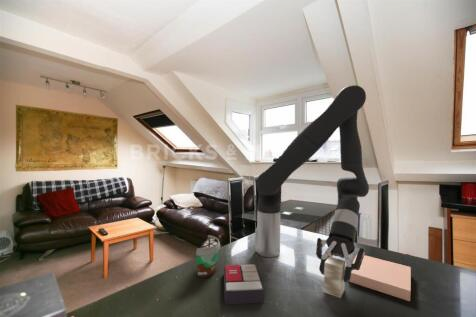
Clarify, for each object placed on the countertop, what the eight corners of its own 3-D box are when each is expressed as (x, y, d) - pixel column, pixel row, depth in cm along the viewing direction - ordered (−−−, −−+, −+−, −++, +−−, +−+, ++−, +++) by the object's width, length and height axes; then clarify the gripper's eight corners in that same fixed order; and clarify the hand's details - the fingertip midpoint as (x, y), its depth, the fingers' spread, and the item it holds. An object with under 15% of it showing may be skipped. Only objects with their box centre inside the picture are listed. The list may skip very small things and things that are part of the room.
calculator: (256, 262, 78) (264, 287, 63) (256, 275, 78) (264, 303, 63) (223, 263, 77) (224, 289, 62) (223, 276, 77) (224, 305, 62)
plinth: (347, 280, 73) (347, 271, 73) (356, 261, 86) (357, 253, 85) (410, 301, 63) (410, 291, 63) (410, 275, 76) (410, 267, 76)
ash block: (323, 292, 67) (324, 262, 67) (328, 284, 71) (329, 256, 70) (340, 298, 64) (341, 267, 64) (344, 290, 68) (345, 260, 68)
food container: (214, 281, 72) (214, 250, 72) (196, 279, 73) (195, 249, 73) (224, 262, 84) (224, 236, 84) (208, 260, 86) (208, 234, 85)
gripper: (319, 216, 77) (306, 264, 69) (367, 225, 69) (359, 281, 60) (324, 227, 82) (311, 274, 73) (369, 236, 73) (362, 291, 64)
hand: (333, 277), depth 66 cm, fingers open, 5 cm apart
